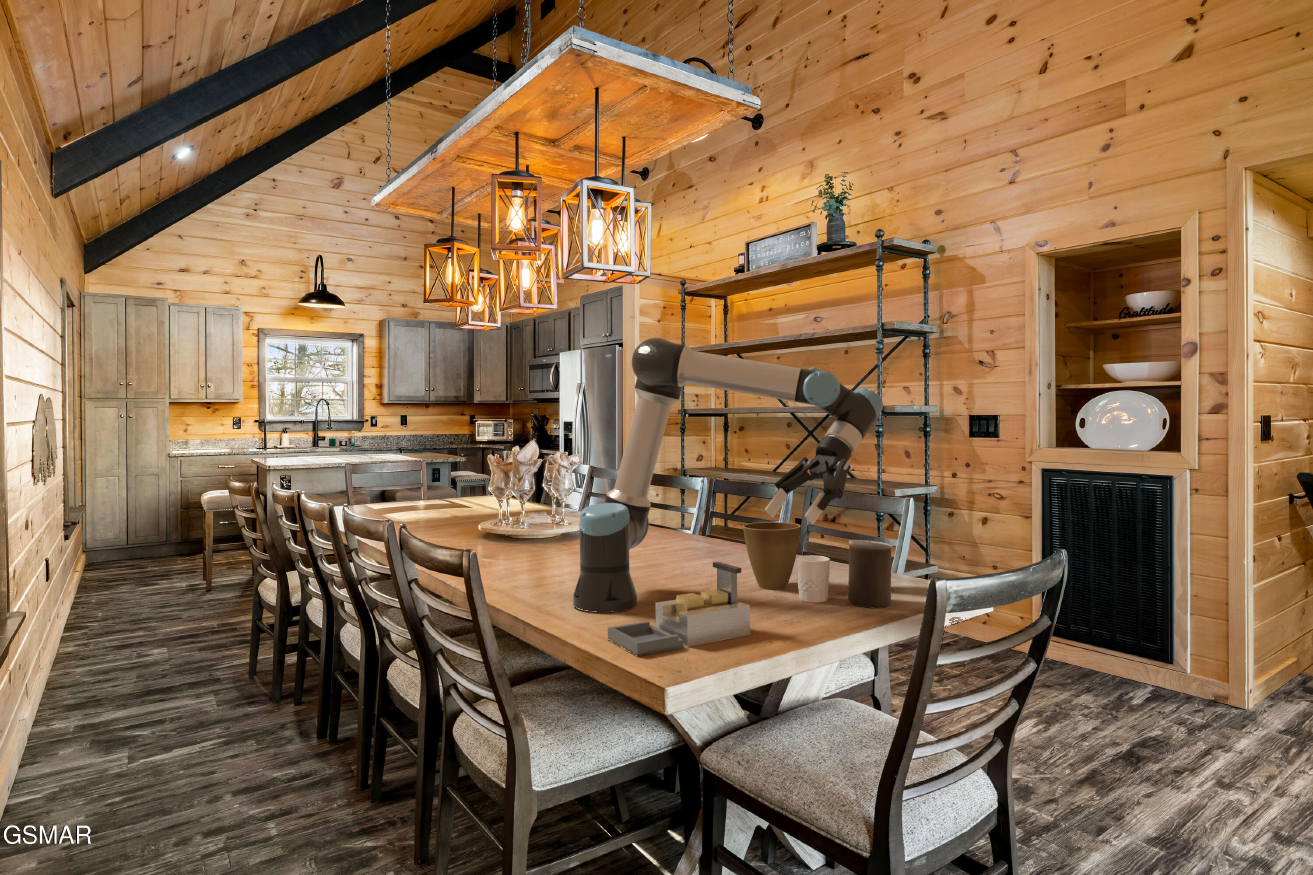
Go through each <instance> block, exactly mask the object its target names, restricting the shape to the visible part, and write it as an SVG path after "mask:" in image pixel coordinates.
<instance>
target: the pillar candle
mask: <svg viewBox="0 0 1313 875" xmlns="http://www.w3.org/2000/svg"><path fill="white" fill-rule="evenodd" d="M868 541H869V542H870V541H871V539H868ZM890 545H891V544H890ZM890 545H886V544H879V543H863V542H858V543H851V544H849V543H848V546H849V547H848V593H847V594H848V595H847V596H848V597H847V599H848V602H849V604H851V605H854V606H857V607H865V608H869V607H882V608H887V607H886V606H888V607H890V606H891V605H892V548H891V546H890ZM890 604H891V605H890ZM889 605H890V606H889Z"/></svg>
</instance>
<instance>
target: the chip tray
mask: <svg viewBox="0 0 1313 875" xmlns="http://www.w3.org/2000/svg"><path fill="white" fill-rule="evenodd" d="M650 623H651V622H650V621H648V620H647V621H645V620H644V621H640V622H634V623H627V624H621V625H617V626H616V625H615V626H610V627H607V640H608V639H610V640H611V641H613V642H614V643H616V644H618V645H619V646H622V647H623V648H625V649H626V650H628V651H630V652H631V653H634V654H635V655H637V656H639V657H642V656H641V655H645V656H648V655H647V654H650V655H653V654H652V653H655V654H658V653H657V652H660V653H663V651H665V652H669V651H668V650H670V651H674V650H680V649H684V645H683V640H682V639H680V638H679V636H678V635H676V634H675V635H671V634H669V633H667V632H665V631H663V630H661V629H658V628H656V626H654V625H652V624H650ZM614 643H613V644H614ZM619 646H618V647H619ZM626 650H625V651H626ZM628 651H627V652H628ZM630 652H629V653H630ZM631 653H630V654H631ZM635 655H634V656H635ZM637 656H636V657H637Z"/></svg>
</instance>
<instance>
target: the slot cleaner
mask: <svg viewBox="0 0 1313 875" xmlns="http://www.w3.org/2000/svg"><path fill="white" fill-rule="evenodd" d="M712 568H715V569H716V589H717V590H720V591H723V592H726V593H728V604H733V603H738V574H742V567H739V566H736V565H733V564H728V563H724V562H722V561H713V562H712Z"/></svg>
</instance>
